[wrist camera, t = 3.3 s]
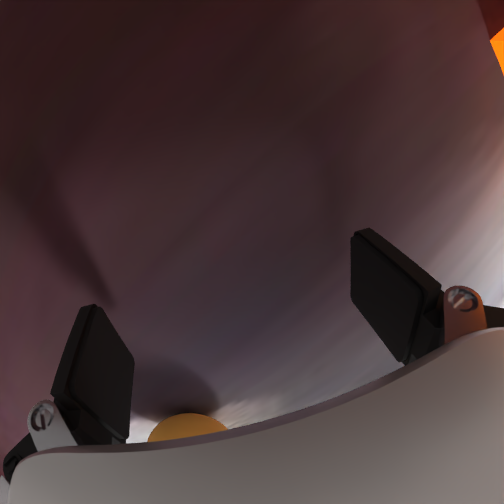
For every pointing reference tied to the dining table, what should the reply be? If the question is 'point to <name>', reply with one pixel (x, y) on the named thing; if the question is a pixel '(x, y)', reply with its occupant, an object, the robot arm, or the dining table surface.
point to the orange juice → (499, 47)
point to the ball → (185, 427)
